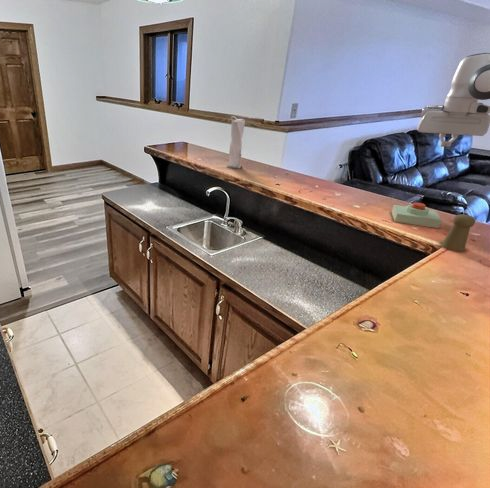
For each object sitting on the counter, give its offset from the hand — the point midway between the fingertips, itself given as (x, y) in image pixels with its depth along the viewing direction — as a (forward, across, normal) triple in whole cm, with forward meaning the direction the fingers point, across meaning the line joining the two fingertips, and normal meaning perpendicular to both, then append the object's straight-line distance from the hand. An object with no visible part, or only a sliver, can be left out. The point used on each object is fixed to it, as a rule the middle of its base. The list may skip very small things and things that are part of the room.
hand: (444, 146), depth 128 cm
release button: (+22, -3, -8) cm, 24 cm away
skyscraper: (+26, -87, +42) cm, 100 cm away
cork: (+27, +4, -30) cm, 40 cm away
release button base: (+27, -3, -8) cm, 28 cm away
